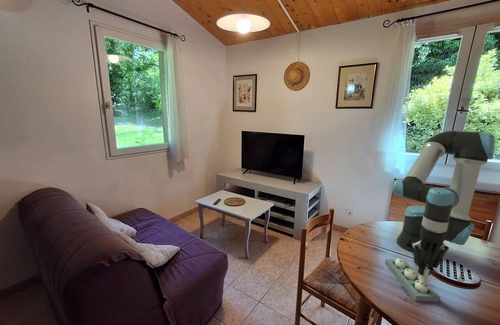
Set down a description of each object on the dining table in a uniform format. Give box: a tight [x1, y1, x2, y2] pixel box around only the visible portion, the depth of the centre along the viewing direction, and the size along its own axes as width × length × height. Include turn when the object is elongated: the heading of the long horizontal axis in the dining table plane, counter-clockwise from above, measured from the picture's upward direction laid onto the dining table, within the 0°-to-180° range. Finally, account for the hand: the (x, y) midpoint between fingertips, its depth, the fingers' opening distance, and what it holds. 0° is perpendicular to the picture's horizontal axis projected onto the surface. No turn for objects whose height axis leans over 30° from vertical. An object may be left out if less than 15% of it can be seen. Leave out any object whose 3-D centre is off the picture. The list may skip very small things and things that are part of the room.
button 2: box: [404, 268, 418, 280], centre depth 98 cm, size 4×4×3 cm
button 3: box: [414, 280, 429, 293], centre depth 91 cm, size 4×4×3 cm
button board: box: [384, 258, 441, 303], centre depth 98 cm, size 9×22×2 cm, turn 177°
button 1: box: [394, 257, 407, 269], centre depth 105 cm, size 4×4×3 cm
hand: (422, 281), depth 90 cm, fingers closed
